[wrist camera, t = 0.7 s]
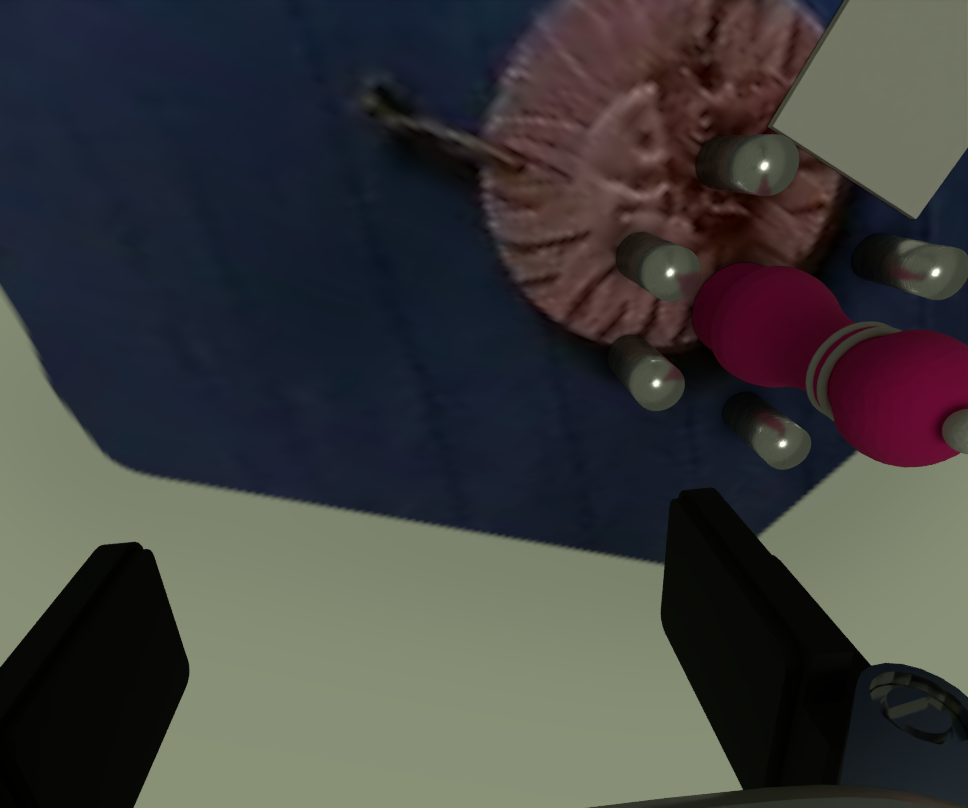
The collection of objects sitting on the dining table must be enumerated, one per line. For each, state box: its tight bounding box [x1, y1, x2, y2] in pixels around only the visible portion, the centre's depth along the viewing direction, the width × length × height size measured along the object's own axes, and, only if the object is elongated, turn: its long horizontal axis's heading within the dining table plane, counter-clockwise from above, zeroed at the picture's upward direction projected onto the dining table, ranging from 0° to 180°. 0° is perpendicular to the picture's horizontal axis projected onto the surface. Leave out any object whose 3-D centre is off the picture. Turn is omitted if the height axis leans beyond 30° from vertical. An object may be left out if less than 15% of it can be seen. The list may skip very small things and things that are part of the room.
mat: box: [768, 0, 968, 219], centre depth 36 cm, size 12×12×1 cm
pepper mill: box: [693, 262, 968, 467], centre depth 32 cm, size 7×7×20 cm
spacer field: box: [607, 134, 968, 469], centre depth 38 cm, size 16×19×6 cm
